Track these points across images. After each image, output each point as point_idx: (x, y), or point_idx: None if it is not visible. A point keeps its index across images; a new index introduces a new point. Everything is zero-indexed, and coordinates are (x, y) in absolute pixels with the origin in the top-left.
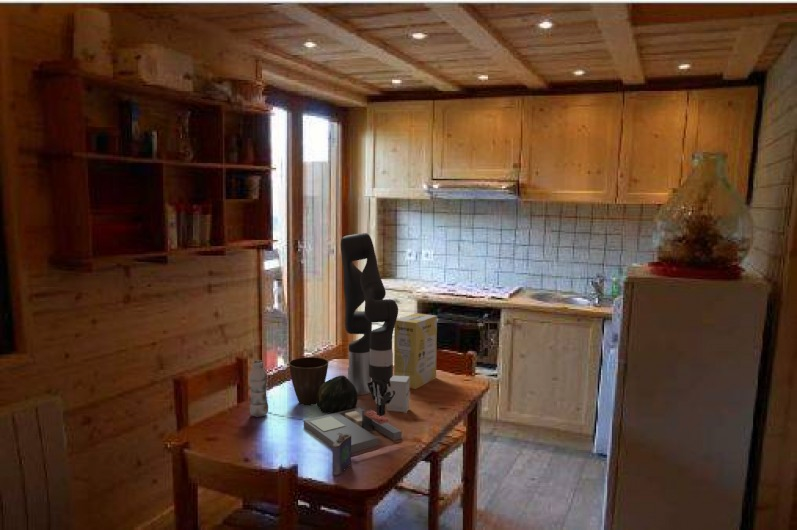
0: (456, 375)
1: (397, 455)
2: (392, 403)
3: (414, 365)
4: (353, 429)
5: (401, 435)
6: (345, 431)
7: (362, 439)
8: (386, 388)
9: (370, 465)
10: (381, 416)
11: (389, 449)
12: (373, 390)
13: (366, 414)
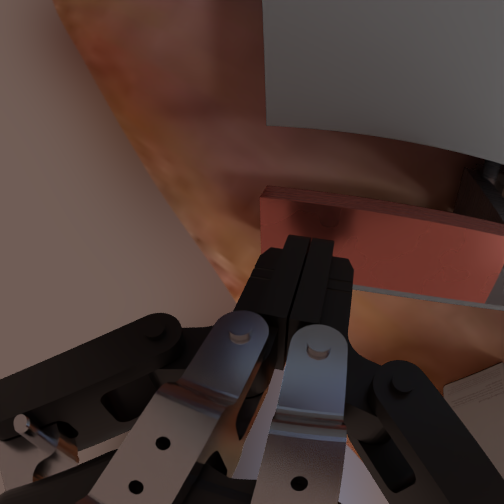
0: None
1: (181, 146)
2: (489, 404)
3: None
4: (483, 93)
5: None
6: (486, 32)
7: (300, 26)
8: (19, 489)
9: (156, 2)
10: None
11: (251, 154)
12: (425, 496)
13: (481, 226)
